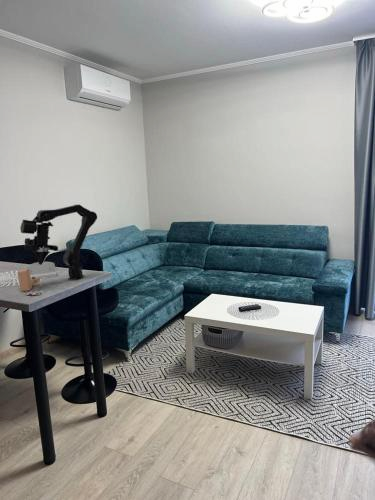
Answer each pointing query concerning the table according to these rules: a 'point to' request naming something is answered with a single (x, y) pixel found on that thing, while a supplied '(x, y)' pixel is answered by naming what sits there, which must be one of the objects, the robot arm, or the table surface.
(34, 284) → the pintle
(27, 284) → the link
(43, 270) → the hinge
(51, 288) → the table surface
